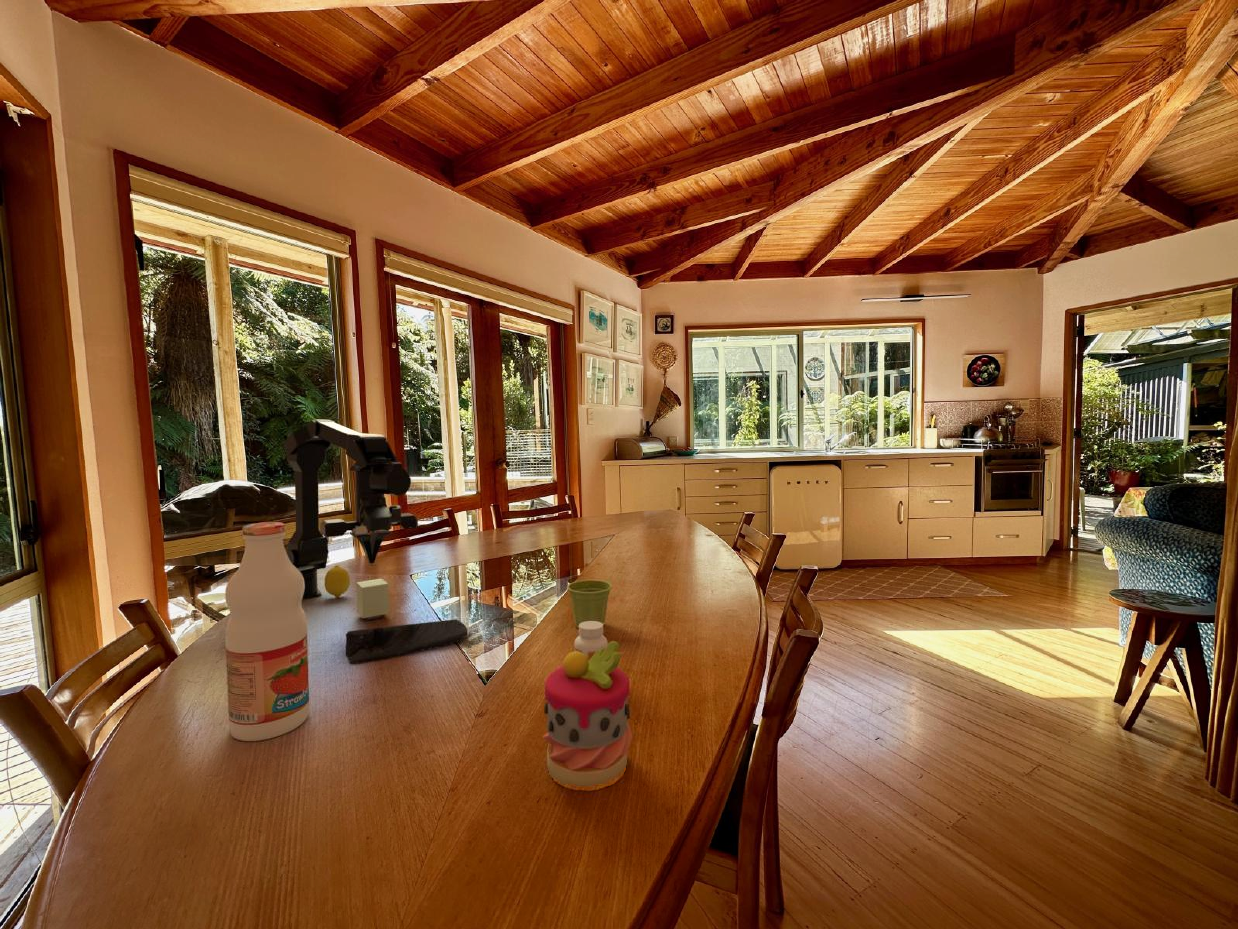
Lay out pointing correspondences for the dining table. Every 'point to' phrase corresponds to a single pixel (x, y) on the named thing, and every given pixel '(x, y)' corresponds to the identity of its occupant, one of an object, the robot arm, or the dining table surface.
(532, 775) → the dining table surface
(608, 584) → the plant pot
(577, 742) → the cake
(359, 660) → the dark slate chunk
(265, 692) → the fruit juice
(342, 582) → the lemon
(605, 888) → the dining table surface
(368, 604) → the cream rectangular block
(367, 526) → the robot arm
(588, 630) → the supplement bottle
